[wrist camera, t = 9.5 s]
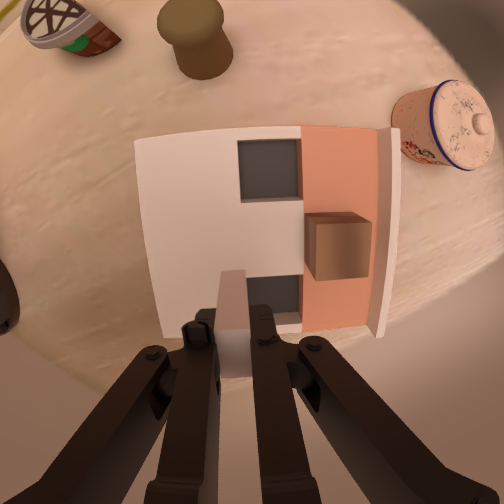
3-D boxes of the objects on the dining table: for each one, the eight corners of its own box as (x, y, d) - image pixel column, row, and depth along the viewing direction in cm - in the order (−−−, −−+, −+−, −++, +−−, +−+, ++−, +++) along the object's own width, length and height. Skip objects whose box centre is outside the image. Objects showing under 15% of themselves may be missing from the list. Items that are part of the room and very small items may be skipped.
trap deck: (169, 324, 35) (157, 353, 29) (143, 141, 28) (122, 138, 22) (365, 311, 35) (383, 336, 29) (373, 132, 28) (400, 128, 23)
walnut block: (304, 261, 29) (315, 281, 25) (304, 212, 28) (316, 224, 23) (350, 258, 30) (368, 277, 25) (352, 211, 28) (372, 222, 23)
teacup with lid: (385, 157, 29) (448, 162, 18) (389, 83, 26) (448, 59, 15) (459, 175, 30) (523, 189, 19) (462, 110, 27) (525, 105, 16)
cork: (238, 72, 26) (236, 30, 16) (182, 86, 26) (152, 53, 16) (226, 27, 24) (219, -26, 14) (172, 41, 24) (142, -4, 14)
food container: (48, 39, 22) (4, 19, 13) (80, 4, 21) (42, -25, 12) (91, 84, 25) (42, 65, 16) (128, 45, 24) (90, 12, 15)
